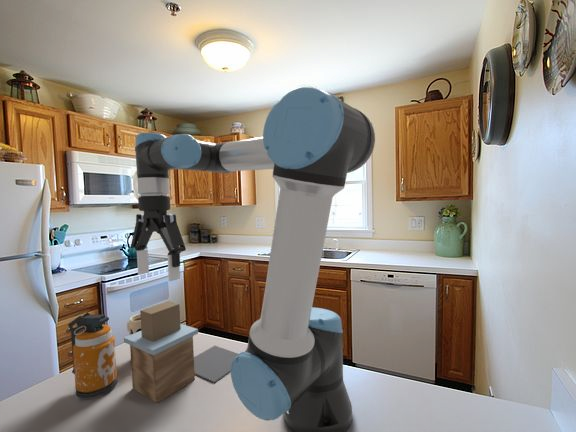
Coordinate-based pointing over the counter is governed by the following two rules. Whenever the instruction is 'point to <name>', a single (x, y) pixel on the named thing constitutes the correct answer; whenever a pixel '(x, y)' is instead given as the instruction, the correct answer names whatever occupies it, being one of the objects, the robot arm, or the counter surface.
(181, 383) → the box
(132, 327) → the character mug
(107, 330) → the canister
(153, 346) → the lid
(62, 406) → the counter surface
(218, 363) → the mat
